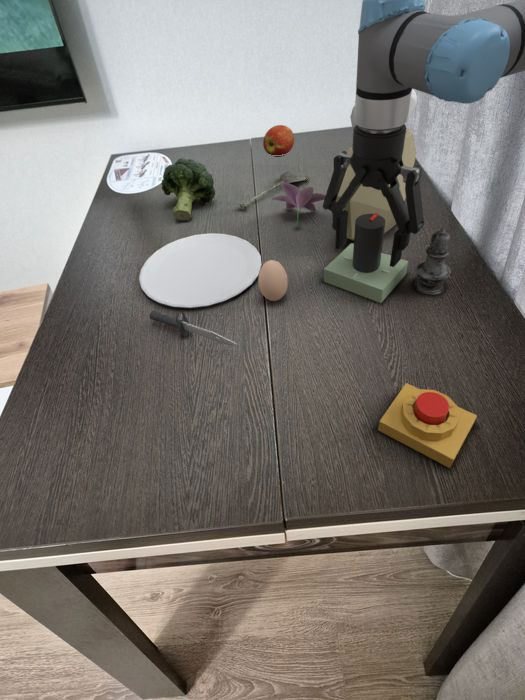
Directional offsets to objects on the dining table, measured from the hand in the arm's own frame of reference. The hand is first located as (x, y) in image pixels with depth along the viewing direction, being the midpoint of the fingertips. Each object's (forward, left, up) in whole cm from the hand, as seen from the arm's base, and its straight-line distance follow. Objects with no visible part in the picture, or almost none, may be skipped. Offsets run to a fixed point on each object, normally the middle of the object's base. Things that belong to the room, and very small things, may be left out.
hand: (367, 253), depth 79 cm
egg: (+11, +14, -6) cm, 19 cm away
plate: (+29, +15, -6) cm, 33 cm away
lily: (+23, -12, -6) cm, 27 cm away
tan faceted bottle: (+7, -16, -6) cm, 18 cm away
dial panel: (0, 0, -5) cm, 5 cm away
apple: (+48, -38, -6) cm, 61 cm away
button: (-23, +25, -2) cm, 34 cm away
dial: (0, 0, -2) cm, 2 cm away
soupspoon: (+36, -19, -6) cm, 41 cm away
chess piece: (-11, -4, -6) cm, 13 cm away
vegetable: (+49, -3, -6) cm, 49 cm away
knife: (+16, +30, -5) cm, 34 cm away
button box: (-23, +25, -5) cm, 34 cm away
